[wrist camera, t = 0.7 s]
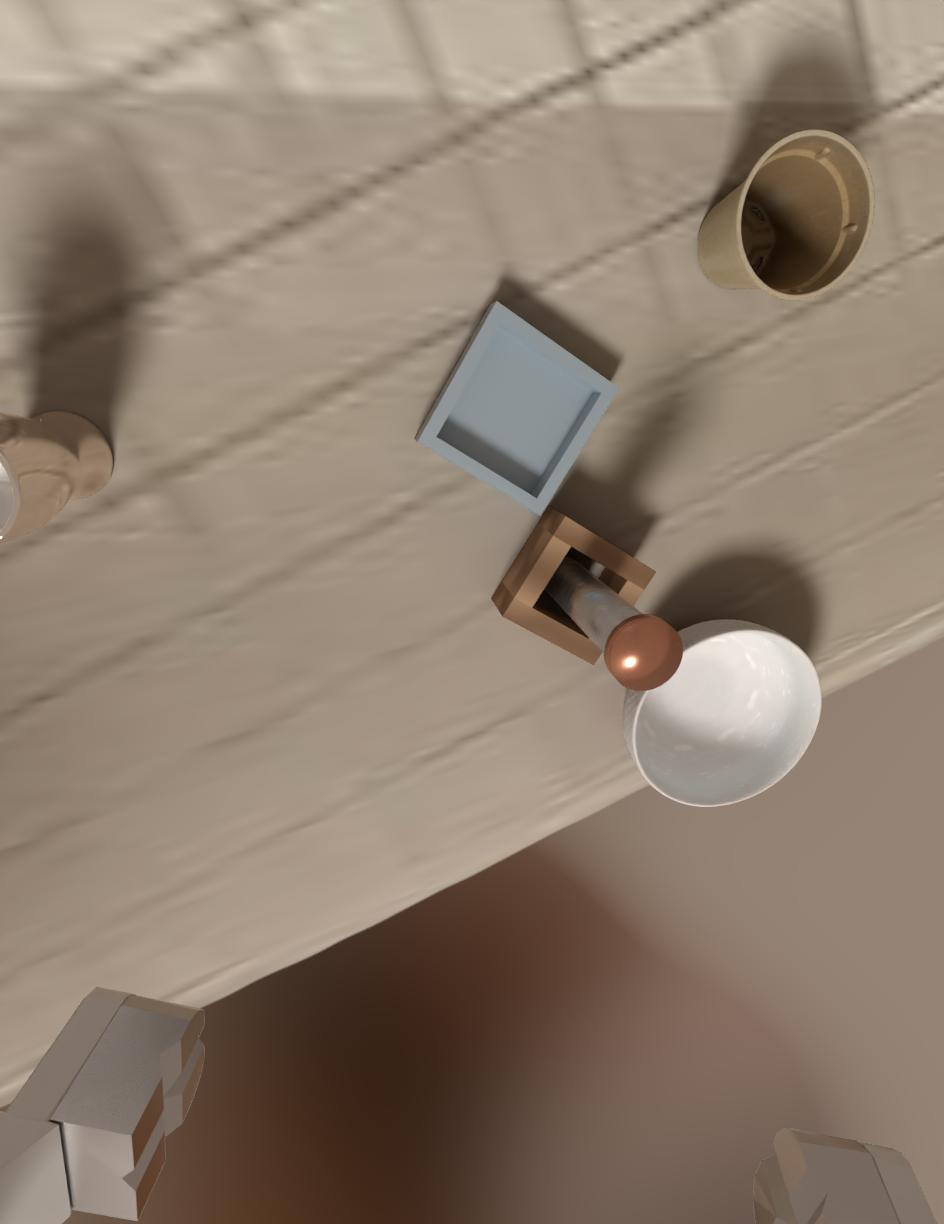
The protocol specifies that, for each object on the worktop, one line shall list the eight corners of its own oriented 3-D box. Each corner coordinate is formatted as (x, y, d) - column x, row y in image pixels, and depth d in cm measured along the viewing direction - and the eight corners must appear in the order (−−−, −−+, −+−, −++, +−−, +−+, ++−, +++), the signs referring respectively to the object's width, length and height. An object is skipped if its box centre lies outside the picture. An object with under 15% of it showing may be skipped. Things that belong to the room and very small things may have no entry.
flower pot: (658, 294, 50) (717, 278, 42) (696, 153, 47) (767, 107, 39) (766, 325, 52) (841, 315, 44) (808, 191, 50) (897, 155, 41)
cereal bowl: (764, 578, 60) (815, 602, 53) (782, 732, 66) (830, 771, 59) (587, 636, 59) (616, 669, 52) (621, 787, 64) (652, 833, 58)
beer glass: (141, 457, 48) (54, 490, 34) (77, 525, 48) (-34, 584, 34) (55, 382, 45) (-77, 383, 31) (-11, 454, 46) (-169, 486, 32)
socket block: (548, 505, 54) (565, 516, 50) (633, 557, 57) (656, 571, 53) (491, 598, 56) (502, 616, 52) (576, 644, 58) (593, 665, 54)
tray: (489, 304, 48) (496, 300, 46) (607, 387, 52) (619, 388, 49) (414, 438, 50) (417, 441, 48) (532, 510, 54) (540, 516, 52)
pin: (555, 541, 55) (639, 607, 39) (599, 567, 56) (697, 641, 40) (526, 588, 56) (596, 671, 40) (569, 612, 57) (654, 702, 41)
